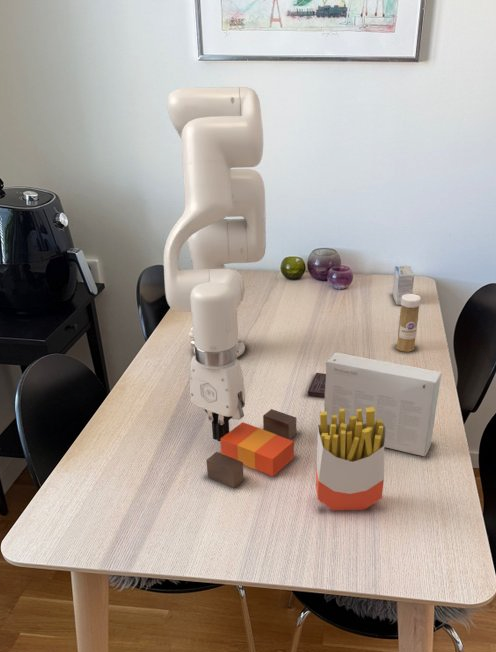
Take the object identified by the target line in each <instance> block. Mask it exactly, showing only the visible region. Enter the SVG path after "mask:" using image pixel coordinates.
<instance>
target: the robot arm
mask: <svg viewBox="0 0 496 652" xmlns="http://www.w3.org/2000/svg"><path fill="white" fill-rule="evenodd" d="M166 100H167V101H166V107H167V113H168V117H169V119H170V121H171V124H172V126H173V127H174V129H175V131H176V132H177V134H178V136H179V138H180V140H181V144H180V145H181V158H182V159H181V160H182V174H183V175H182V177H183V194H184V195H183V196H184V211H183V213H182V215H181V216H180V218H178V219H177V221H176V223H175V224H174V225H173V227H172V228H171V230H170V231H169V234H168V236H167V238H166V241H165V245H164V249H163V278H164V279H163V280H164V294H165V299H166V302H167V305H168V306H169V308H170V309H171V310H173V311H174V312H178V313H191V322H192V326H191V327H190V331H189V332H188V335H187V336H188V337H189V338H191V339H193V340H191V342H190V346H191V347H192V348H193V353H194V355H193V356H192V357H191V362H190V370H189V396H190V402H191V403H192V404H193V405H194V406H196V407H198V408H201V409H203V410H204V412H205V413H206V414H207V419H208V420H209V421H210V422H211V432H212V439H213V440H215V441H217V442H221V438H222V437H223V436H225V435H226V434H227V433H229V432H230V420H238V421H239V420H241V419H242V418H244V416H245V413H244V410H243V408H244V407H245V405H246V390H245V389H246V387H245V381H244V375H243V370H242V365H241V363H240V362H241V361H240V360H239V359H238V358H239V357H241V356H242V355H243V354H244V353H245V350H246V344H245V342H244V341H242V340H241V339H240V338H239V325H238V323H239V321H238V308H239V307H240V304H241V303H242V302H243V300H244V297H245V281H244V279H243V277H242V276H241V274H240V272H238V271H237V270H235V269H232V268H228V267H227V266H226V265H228V264H229V265H230V264H250V263H257V262H260V261H261V260H263V258H264V257H265V254H266V248H267V225H266V221H267V220H266V217H267V216H266V215H267V213H266V188H265V183H264V179H263V177H262V175H261V173H259V171H257V170H256V169H252V168H255V167H258V165H259V164H261V161H262V159H263V154H264V128H263V119H262V110H261V103H260V99H259V95H258V94H257V92H256V91H255V90H254V89H253V88H252V87H246V86H223V87H222V86H218V87H217V86H197V87H196V86H195V87H183V88H178V89H177V88H176V89H174V90H173V91H171V92H170V93H169V95H168V97H167V99H166ZM232 217H233V218H232ZM235 217H236V218H235ZM237 217H241V218H237ZM186 241H187V246H188V247H187V248H188V250H189V255H190V259H191V264H192V269H180V254H181V250H182V248H183V246H184V245H185V243H186Z"/></svg>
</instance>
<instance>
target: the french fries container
mask: <svg viewBox="0 0 496 652" xmlns="http://www.w3.org/2000/svg"><path fill="white" fill-rule="evenodd" d="M356 420H357V422H356ZM374 420H375V410H374V407H369V408H366V424H363V419H362V410H361V409H357V418H356V416H351V417H350V420H349V424H345V409H340V411H339V424H337V415H332V423H331V425H327V411H325V412H324V411H319V424H317V439H316V440H317V445H316V446H317V447H316V470H315V488H316V496H317V500H318V501H319V502H320V503H322V504H323V505H325V506H326V507H327V508H329V509H330V510H332V511H363V510H365V511H366V509H368V508H369V507H372V505H374V504H375V503H377V502H378V501H380V500H381V499H382V498H383V489H384V481H385V478H384V477H385V448H386V447H385V437H386V428H385V425H384V423H382V419H376V424H374Z"/></svg>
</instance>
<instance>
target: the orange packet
mask: <svg viewBox="0 0 496 652" xmlns="http://www.w3.org/2000/svg"><path fill="white" fill-rule="evenodd" d="M220 451H221V452H220V453H221V454H223V455H226V456H228V457H231V458H234V459H236V460H239V461H241V462H243V466H244V467H248V468H250V469H251V470H252V469H253V470H255V471H258V472H260V473H262V474H265V475H268V476H270V477H274V476H276V475H277V474H278V473H279V472H280V471H281V470H282V469H284V467H286V466H287V465H288V464H290V463H291V461H293V460H294V458H295V441H294V440H292V439H290V440H289V439H287V438H284V437H281V436H279V435H276V434H274V433H271V432H268V431H266V430H263V429H262V428H260V427H257V426H254V425H252V424H249V423H246V422H243V421H242V422H241V423H239V424H238V425H237V426H236V427H234V428H233V429H230V430H229V433H227V434H226V435H225V436H223V437H222V438H221V441H220Z"/></svg>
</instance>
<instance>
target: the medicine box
mask: <svg viewBox="0 0 496 652" xmlns="http://www.w3.org/2000/svg"><path fill="white" fill-rule="evenodd" d="M414 281H415V274H414V273H413V270H412V268H411V266H410V265H396V266H395V267H394V272H393V281H392V283H393V284H392V297H393V299H394V303H395V305H397V306H401V297H402V296H403V295H405V294H414V293H413V292H414V290H413V289H414Z"/></svg>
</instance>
